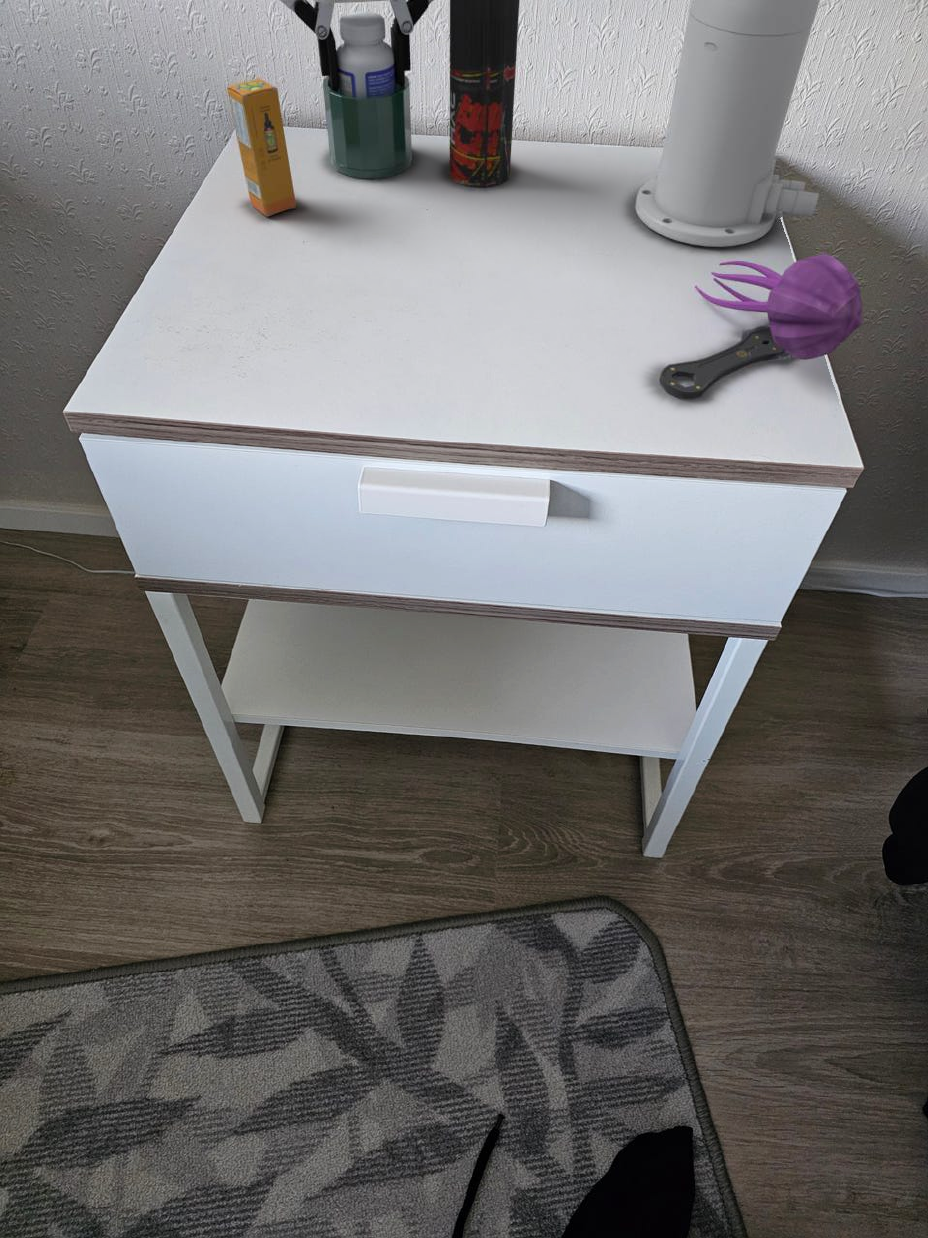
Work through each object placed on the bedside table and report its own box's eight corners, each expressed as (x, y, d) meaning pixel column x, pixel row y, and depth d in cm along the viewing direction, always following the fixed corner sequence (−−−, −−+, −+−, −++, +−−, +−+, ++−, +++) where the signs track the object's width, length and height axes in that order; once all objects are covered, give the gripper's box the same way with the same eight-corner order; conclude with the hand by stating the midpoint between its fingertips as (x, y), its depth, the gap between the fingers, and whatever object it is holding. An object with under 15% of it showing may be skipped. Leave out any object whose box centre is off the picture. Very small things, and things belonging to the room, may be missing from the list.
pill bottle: (402, 125, 84) (397, 9, 76) (393, 149, 80) (388, 30, 73) (348, 122, 84) (338, 6, 76) (337, 146, 81) (326, 27, 73)
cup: (422, 149, 86) (421, 72, 80) (394, 184, 81) (390, 103, 75) (350, 138, 87) (343, 61, 82) (318, 171, 82) (308, 91, 77)
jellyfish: (724, 211, 66) (877, 243, 55) (749, 281, 71) (895, 324, 60) (661, 268, 66) (801, 313, 55) (690, 335, 71) (825, 388, 60)
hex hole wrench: (689, 400, 60) (687, 407, 60) (873, 316, 67) (870, 323, 67) (648, 369, 62) (646, 375, 62) (830, 290, 69) (827, 297, 69)
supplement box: (279, 194, 79) (260, 74, 71) (297, 208, 78) (280, 87, 70) (247, 203, 78) (225, 82, 70) (265, 218, 76) (244, 96, 68)
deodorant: (437, 169, 83) (435, -15, 71) (485, 154, 85) (491, -27, 73) (473, 192, 80) (478, 4, 68) (522, 176, 82) (534, -9, 71)
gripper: (236, -173, 61) (276, 104, 75) (468, -178, 63) (464, 91, 77) (232, -192, 65) (271, 72, 80) (448, -196, 68) (448, 61, 82)
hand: (366, 79), depth 78 cm, fingers closed on pill bottle, 5 cm apart
